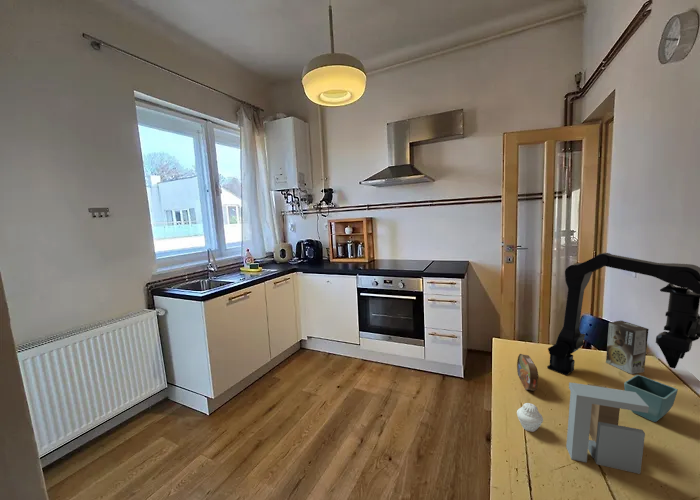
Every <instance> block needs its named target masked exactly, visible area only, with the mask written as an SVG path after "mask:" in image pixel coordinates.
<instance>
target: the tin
mask: <svg viewBox="0 0 700 500" xmlns="http://www.w3.org/2000/svg"><path fill="white" fill-rule="evenodd" d="M516 362H517V363H516V369H517V372H516V373H517V376H518V378H519V380H520V382H521V384H522V386H523V387H524V389H525V390H526V391H533V392H534V391H537V388H538V381H539V372H538V368H537V365H536V364H535V363H534V361H533V360H532V358H531V356H530V355H527V354H524V353H519V354H518V357H517V361H516Z"/></svg>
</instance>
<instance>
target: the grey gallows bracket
mask: <svg viewBox="0 0 700 500" xmlns="http://www.w3.org/2000/svg"><path fill="white" fill-rule="evenodd" d="M568 389H569V390H570V394H569V395H570V396H569V406H568V407H569V408H568V419H567V420H568V422H567V431H566V433H567V434H566V445H565V447H566V450H567V451H568V454H569V456H570V459H571V460H574V461H578V462H582V463H586V464H587V462H588V453H590V456H591V457H592V459H594V462H595V464H596V465H598V466H602V467H608V468H612V469H616V470H621V471H626V472H629V473H635V474H639V475H640V474H641V473H642V472H641V471H642V464H643V463H642V461H643V456H644V455H643V453H644V445H645V438H646V433H645V432H644V430H643V429H641V428H634V427H629V426H626V425H625V426H624V425H620V424H618V425H614V424H608V423H603V422H598V430H597V441H596V442H595V441H593V440H592V439H590V434H589V431H590V420H591V409H592V404H597V405H603V406H609V407H615V408H620V410H628V411H631V410H633V411H639V412H645V413H648V410H649V406H648V405H647V404H646V403H645V402H644V401H643V400H642V399H641V397H640V396H639V395H638V394H637V393H636V392H631V391H625V389H624V390H622V389H616V388H609V387H607V388H604V387H598V386H591V385H588V384H583V383H577V382H568ZM588 451H589V452H588Z"/></svg>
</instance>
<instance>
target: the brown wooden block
mask: <svg viewBox="0 0 700 500" xmlns="http://www.w3.org/2000/svg"><path fill="white" fill-rule="evenodd" d="M587 385H591V386H598V387H604V388H608V387H607V386H605V385H598V384H591V383H587ZM620 410H621V408H615V407H609V406H603V405H597V404H592V409H591V420H590V431H589V437H590V438H591V440H593V441H595V442H596V441H597V430H598V422H603V423H608V424H614V425H619V417H620Z"/></svg>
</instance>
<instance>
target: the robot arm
mask: <svg viewBox="0 0 700 500" xmlns="http://www.w3.org/2000/svg"><path fill="white" fill-rule="evenodd" d="M603 267H607V268H612V269H617V270H621V271H626V272H630V273H631V272H632V273H635V274H636V273H637V274H640V275H644V276H650V277H653V278H655V279H658V280H660V281H662V282H665V283H667V285H666V286H663V287H661V288H660V289H659V291H660V292H662V293H669V296H668V297H669V298H668V305H667V311H665V317H666V323H665V325H664V326H663V331H662V332H659V333H658V334H657V335H656V337H655V343H656V344H657V346H659V349H660V351H661V353H662V354H663V356H664V358H665V361H666V363H667V365H668V367H669V368H671V369H676V367H677V366H678V363H679V362H680V359H683V358H684V357H685V354H686V353H688V352H690V351H691V350H692V346H693V342H695V341H697V340H699V339H700V314H699V310H700V266H698V265H695V264H691V263H673V262H672V263H670V262H669V263H666V262H664V263H663V262H655V261H650V260H644V259H638V258H632V257H630V256H629V257H628V256H621V255H619V254H618V255H617V254H613V253H610V252H603V253H599V254H596V256H594V257H592V258H590V259H588V260H586V261H584V262H578V263H574V264H571V265H569V266H568V267H566V268H565V270H564V278H565V281H564V282H565V284H566V286H567V296H566V304H565V312H564V320H563V326H562V329H561V331H560V332H559V334H558V335H557V339H556V341H555V343H554V344H553V345H551V346H550V347H548V348H547V350H548V354H549V365H547V366H546V367H547V369H548V370H552V371H554V372H557V373H559V374H562V375H565V376H568V375H569V374H571V373H572V372H574V371H575V359H574V355H573V354H574V353H575V352H576V351H578V350H579V349H581V347H583V346H585V337H586V334H585V333H581V330H580V322H581V315H582V307H583V301H584V295H585V294H584V293H585V289H586V288H587V286H588V284H589V282H590V280H591V277H592V274H593V272H596V271H597V270H599V269H601V268H603Z"/></svg>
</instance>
